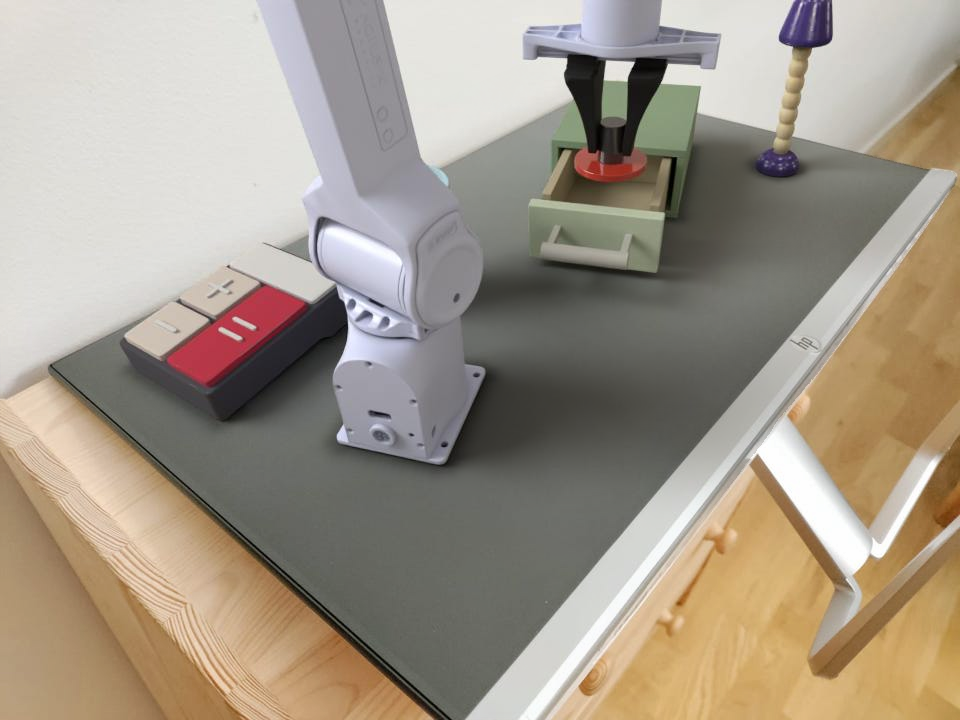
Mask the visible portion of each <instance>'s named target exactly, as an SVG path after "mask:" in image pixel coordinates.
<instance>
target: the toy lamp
mask: <svg viewBox="0 0 960 720" xmlns="http://www.w3.org/2000/svg"><path fill="white" fill-rule="evenodd" d="M833 12H834V11H833V0H793V2H792V4H791V6H790V9H789V11H788V12H787V15H786V17H785V20H784V22H783V24H782V27H781V28H780V30H779V34H778V42H779V43H780V44H782V45H785V46H787V47H792V48H791V57H792V58H791V60H790V61H789V65H788V68H787V70H788V71H787V72H788V75H787V77H786V80H785V83H784V89H785V91H784V92H783V94H782V96H781V97H782V98H781V108H780V109H779V112H778V121H779V122H778V124H777V125H776V130H775V135H776V137H775V139H774V140H773V144H772V145H773V146H772V147H771V148H769V149H766V150H765V151H763V152H762V153H761V154H760V155H759V156H758V158H757V159H756V161H755V168H756V170H757V171H759V173H761V174H764V175H765V176H770V177H789V176H793V175H794V174H796V173H798V171H799V169H800V168H799V167H800V161H799V158H798V156H797V155H796V153H795V152H793V151H792V150H790V149H791V147H792V144H793V143H792V141H793V140H792V137H793V135H794V133H795V129H796V128H795V127H796V126H795V124H796V123H795V122H796V121H797V119H798V116H799V109H798V107H799V106H800V104H801V100H802V90H803V88H804V86H805V75H806V74H807V71H808V68H809V58H810V57H811V56H812V55H811V54H812V51H813V49H815V48H822V47H824V46H828V45H829V44H830V43H832V40H833V37H834V20H833V19H834V14H833Z"/></svg>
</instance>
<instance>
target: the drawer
mask: <svg viewBox="0 0 960 720" xmlns="http://www.w3.org/2000/svg"><path fill="white" fill-rule="evenodd" d="M580 150H582V149H575V148H565V149H564V151H563V153H562V155H561V157H560V159H559V161H558V163H557V165H556V167H555V169H554V171H553V173H552V175H551V174H550V176H549V179H548V181H547V183H546V185H545V187H544V189H543V191H542V193H541V199H539V198H531V199H530V201H529V203H528V208H527V209H528V257H529V258H537V259H540V260H544V261H554V262H561V263H569V264H576V265H584V266H591V267H599V268H607V269H614V270H615V269H616V270H623V271H627V270H630V271H638V272H646V273H654V274H657V272H658V270H659V269H658V268H659V263H660V256H661V249H662V243H663V235H664V228H665V227H664V226H665V220H666V217H665V213H664V209H665V205H666V201H667V197H668V193H669V189H670V181H671V174H672V167H673V159H674V157H668V156H657V155H645V156H646V158H647V164H646V169H645V171H644V172H643V173H642V174H641V175H639V176H638V177H636V178H633V179H630V180H627V181H621V182H601V181H595V180H591V179H588V178H586V177H584V176H582V175H580V174H579V173H578V172H577V171H576V169H575V166H574V161H575V156H576V154H577V153H578V152H579V151H580Z"/></svg>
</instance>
